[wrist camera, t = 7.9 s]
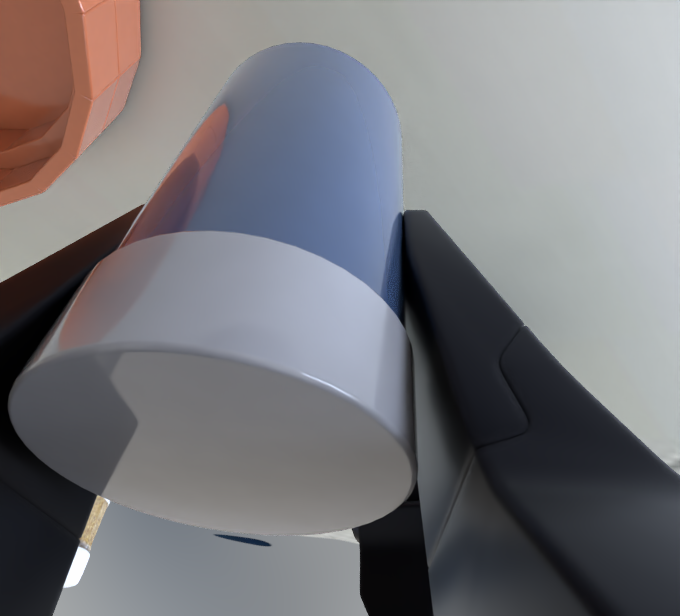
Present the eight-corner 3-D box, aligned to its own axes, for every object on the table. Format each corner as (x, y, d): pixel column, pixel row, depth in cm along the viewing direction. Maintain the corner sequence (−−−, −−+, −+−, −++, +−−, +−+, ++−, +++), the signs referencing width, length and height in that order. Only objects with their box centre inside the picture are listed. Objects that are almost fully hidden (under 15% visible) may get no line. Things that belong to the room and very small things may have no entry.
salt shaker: (399, 226, 12) (402, 547, 7) (232, 222, 13) (108, 523, 7) (415, 35, 9) (447, 361, 4) (187, 36, 9) (-107, 334, 4)
